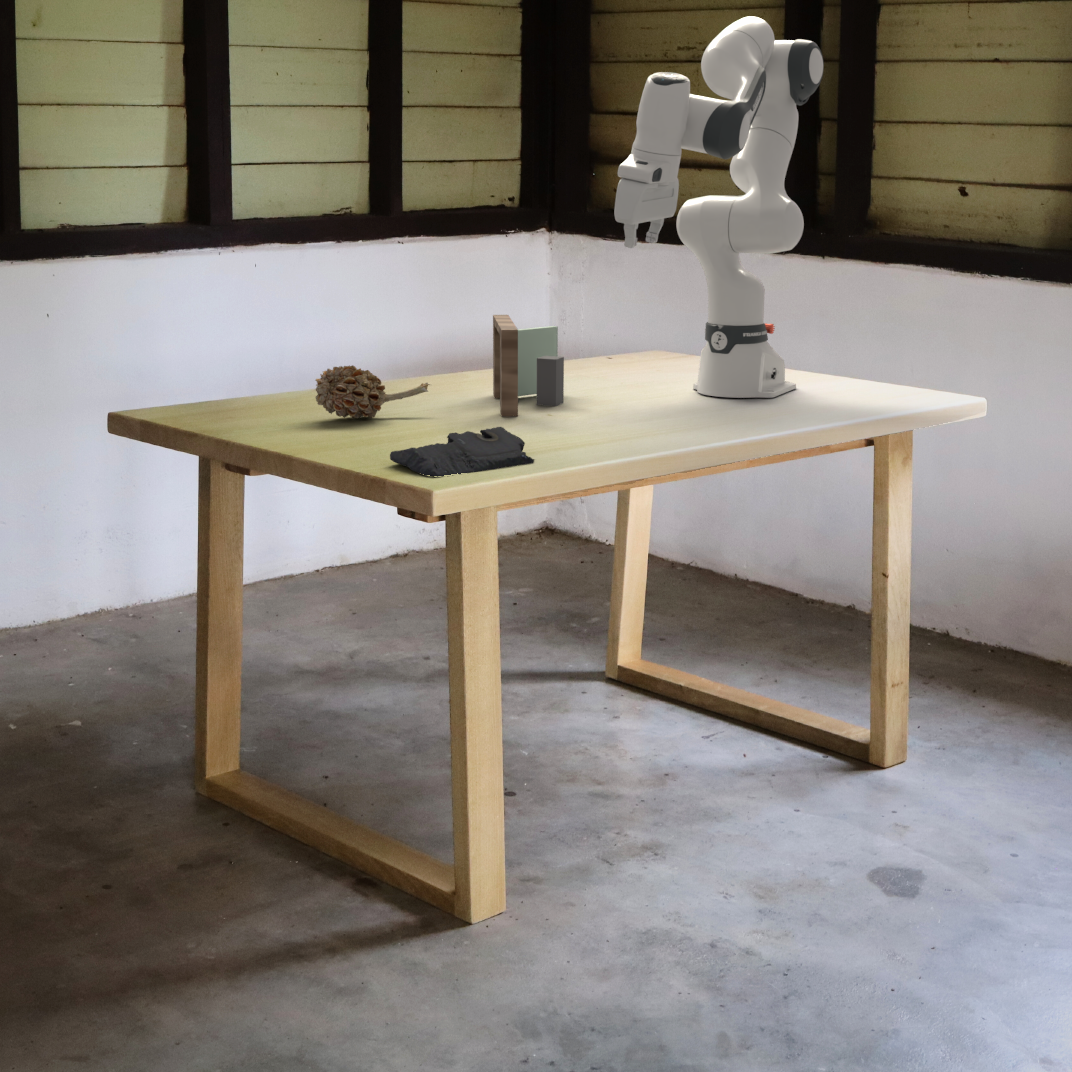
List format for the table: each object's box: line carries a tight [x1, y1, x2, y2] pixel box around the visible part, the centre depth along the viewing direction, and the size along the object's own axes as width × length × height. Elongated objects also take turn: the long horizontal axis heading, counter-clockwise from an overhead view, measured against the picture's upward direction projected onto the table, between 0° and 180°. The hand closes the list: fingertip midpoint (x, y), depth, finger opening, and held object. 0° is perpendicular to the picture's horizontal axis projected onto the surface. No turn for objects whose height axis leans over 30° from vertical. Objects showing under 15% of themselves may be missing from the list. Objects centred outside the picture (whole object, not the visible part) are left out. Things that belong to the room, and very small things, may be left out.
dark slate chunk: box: [389, 426, 535, 476], centre depth 239 cm, size 15×22×5 cm
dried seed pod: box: [314, 365, 431, 420], centre depth 277 cm, size 22×10×10 cm, turn 117°
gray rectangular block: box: [536, 355, 565, 407], centre depth 292 cm, size 4×4×9 cm
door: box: [517, 325, 559, 397], centre depth 300 cm, size 13×3×13 cm, turn 130°
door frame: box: [492, 314, 519, 418], centre depth 289 cm, size 25×3×16 cm, turn 5°
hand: (640, 244), depth 274 cm, fingers open, 8 cm apart
